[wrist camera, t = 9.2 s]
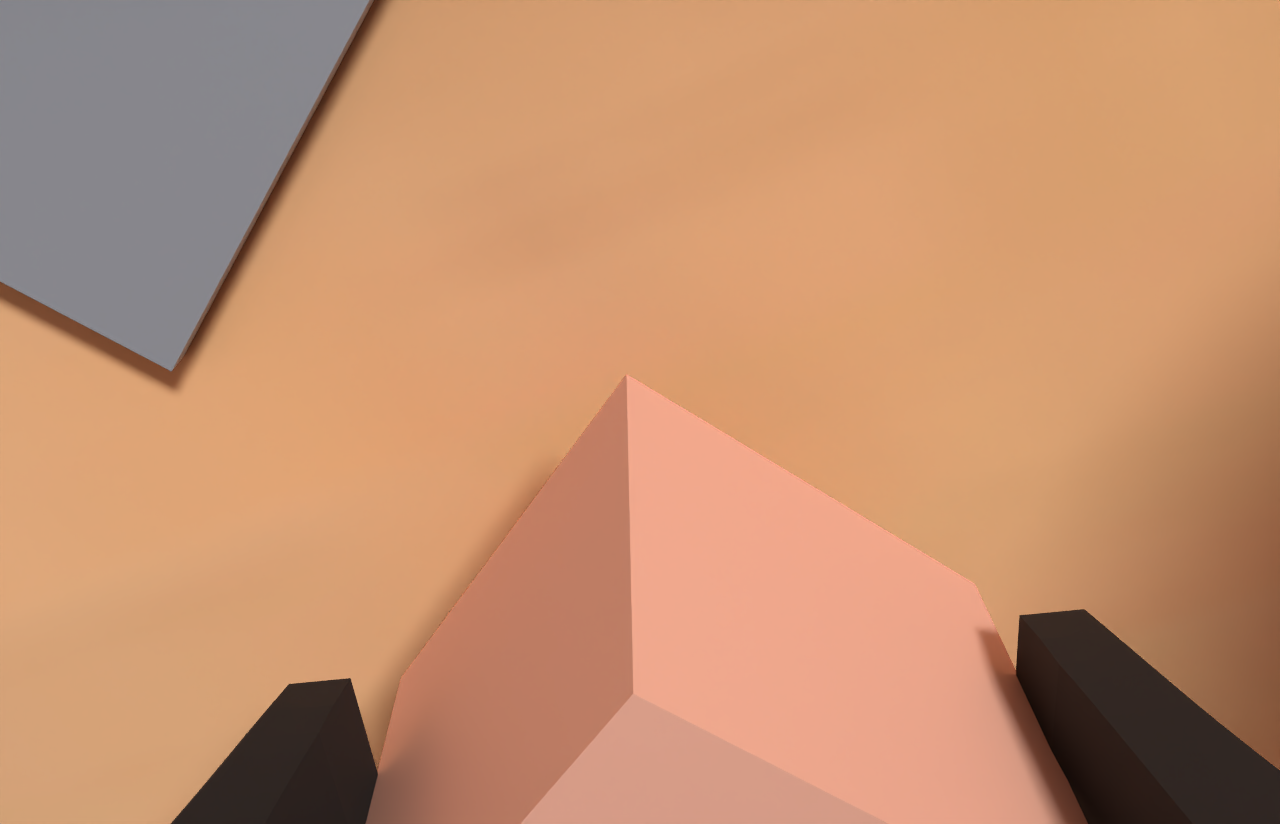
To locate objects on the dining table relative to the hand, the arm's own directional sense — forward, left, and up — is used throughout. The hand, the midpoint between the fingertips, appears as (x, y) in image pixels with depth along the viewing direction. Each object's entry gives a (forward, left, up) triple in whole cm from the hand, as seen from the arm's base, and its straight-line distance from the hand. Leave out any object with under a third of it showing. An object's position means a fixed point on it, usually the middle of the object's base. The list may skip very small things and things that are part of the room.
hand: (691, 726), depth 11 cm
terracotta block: (0, 0, -1) cm, 1 cm away
